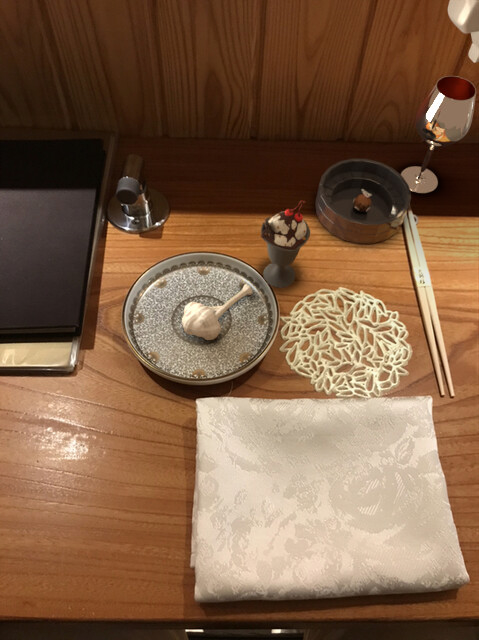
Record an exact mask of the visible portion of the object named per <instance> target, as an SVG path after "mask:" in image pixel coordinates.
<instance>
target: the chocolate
mask: <svg viewBox="0 0 479 640" xmlns="http://www.w3.org/2000/svg"><path fill="white" fill-rule="evenodd" d="M362 190H364V189H362ZM364 193H365V194H366V193H367V192H366V191H365V192H363V194H361V195H358V196H357V197H356V198H355V199H354V202H353V204H354V208H355V209H356V210H358V211H360V212H364V211H366V210H367V211H368V210H369V209H370V206H371V204H372V202H371V199H370V198H369V196H367V195H365V194H364ZM367 194H368V195H370V194H369V193H367ZM370 196H371V195H370Z"/></svg>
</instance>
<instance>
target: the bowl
mask: <svg viewBox="0 0 479 640" xmlns="http://www.w3.org/2000/svg"><path fill="white" fill-rule="evenodd" d="M362 189H364V190H362ZM365 191H366V192H367V193H369V194H370V195H371V196H370V195H368V194H367V193H366V194H365V193H364V194H365V195H367V196H369V198H370V199H371V202H372V204H371V206H370V209H369V210H368V211H367V210H366V211H364V212H360V211H358V210H356V209H355V208H354V204H353V202H354V199H355V198H356V197H357V196H358V195H361V194H363V192H365ZM411 199H412V193H411V190H410V189H409V186H408V184H407V182H406V181H405V179H404V178H403V177H402V175H401V173H399V172H398V171H397V170H395V169H394V168H393V167H391V166H390V165H387V164H385V163H383V162H381V161H378V160H373V159H368V158H350V159H344V160H340V161H338V162H336V163H334V164H332V165H331V166H328V168H327V169H326V171H324V172H323V173H322V175H321V178H320V181H319V184H318V188H317V193H316V198H315V203H314V205H315V213H316V216H317V218H318V220H319V222H320V223H321V225H322V226H323V227H324V228H325V229H326V230H327V231H329V233H330V234H332V235H334V236H335V237H338V238H340V239H342V240H343V241H347V242H352V243H355V244H375V243H379V242H383V241H386V240H388V239H389V238H391V237H393V236H394V235H396V233H398V231H399V229H400V228H401V227H402V225H403V224H404V223H403V222H404V220H405V218H406V215H407V213H408V210H409V208H410V205H411V204H410V203H411Z"/></svg>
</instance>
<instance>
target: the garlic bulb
mask: <svg viewBox="0 0 479 640" xmlns="http://www.w3.org/2000/svg"><path fill="white" fill-rule="evenodd" d="M253 293H254V291H253V289H252V287H251V286H250V285H248V284H247V283H245V284H244V285H243V287H242V289H241V290H240V291H239V292H238V293H236V294H235V295H234V296H232V297H231V298H230V299H229V300H227V301H226V302H225V303H224V304H223V305H217V306H208V305H204V304H203V303H201V302H198V303H197V301H190V302H189V303H188V304H186V305H185V307H184V309H183V316H182V318H181V324H182V326H183V332H184V333H186V334H187V335H189V336H192V335H194V336H195V337H198V338H199V337H200V338H203V339H204V340H207V341H212V340H215V339H217V337H218V336H219V334H220V333H221V331H222V329H221V324H220V321H219V318H220V317H221V316H222V315H223V314H224V313H226V311H227V310H229V309H230V307H231V306H233V305H234V304H236V302H238V301H239V300H241V299H242V298H244V297H245V296H252V295H253Z"/></svg>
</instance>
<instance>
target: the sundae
mask: <svg viewBox="0 0 479 640" xmlns="http://www.w3.org/2000/svg"><path fill="white" fill-rule="evenodd" d="M303 204H306V200H300V201H299V203H298V204H297V206H296V207H294V208H292V209H291V208H286V209H285V211H280V212H278V213H275V214H273V215H270V216H267V217H266V218H264V219H263V222H262V224H261V229H260V238H261V239H262V240H263V241H264V242H265V243H266V249H267V256H268V258H269V260H270V261H269V262H271V263H269V264H267V265H266V266H265V268H263V269H264V270H263V273H262V276H263V279H264V281H265V280H266V281H267V282H266V281H265V282H266V283H267V284H268V285H270V287H271V286H272V287H274V288H279V289H282V288H287V287H290V286H291V285H292V284H293V282H294V281H295V279H296V272H295V270H294V268H293V267H292V266H290V265H291V264H293V263H294V262H295V260H296V259H297V257H298V254H299V252H300V250H301V248H302V247H303V246H305V245H306V243H307V242H308V241H309V239H310V237H311V229H310V227H309V225H308V223H307V221H306V220H305V219H304V216H303V214H301V208H302V206H303ZM298 208H299V209H298ZM296 209H298V212H296V213H294V211H295V210H296Z"/></svg>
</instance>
